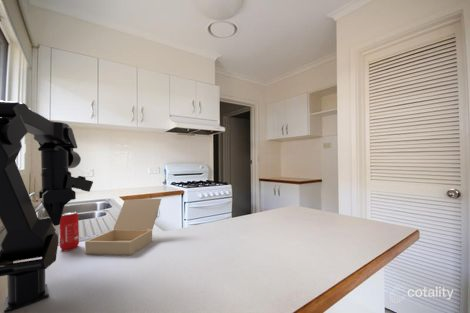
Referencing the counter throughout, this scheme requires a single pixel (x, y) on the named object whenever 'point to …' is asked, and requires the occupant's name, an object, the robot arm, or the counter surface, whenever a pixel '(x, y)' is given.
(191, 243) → the counter surface
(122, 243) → the mailer box
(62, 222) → the beverage can
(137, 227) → the mailer lid
